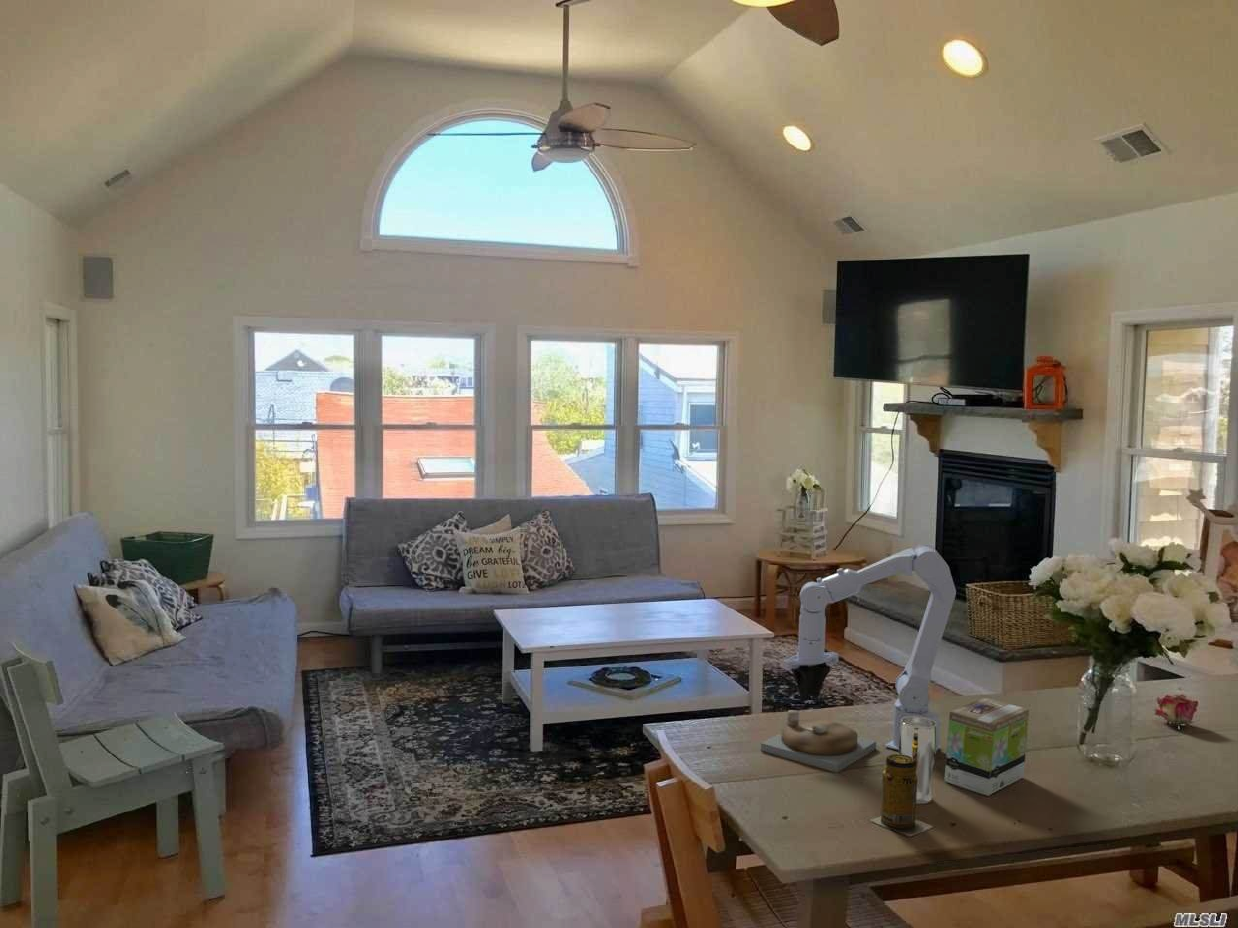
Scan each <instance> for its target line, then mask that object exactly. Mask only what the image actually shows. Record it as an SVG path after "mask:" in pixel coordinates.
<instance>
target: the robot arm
mask: <svg viewBox="0 0 1238 928" xmlns="http://www.w3.org/2000/svg"><path fill="white" fill-rule="evenodd" d="M913 572H915V575H916V576H917V577H918V578H919V579H921V580H922V581H923V582H924V583H925V584H926V586H927V588H928V589H929V591H930V596H929V600H927V601H928V602H927V605H926V608H925V610H924V614H923V618H922V620H921V623H920V627H919V630H918V633H917V636H916V639H915V642H914V645H913V647H912V652H911V654H910V657H909V660H908V661H907V663H906V664H905V666H904V668H903V669H904V670H903V671H902V673H901V674H899V675H898V676H897V678H896V679H895V682H894V683H895V684H894V686H895V691H896V693H897V694H898V698H897V700H895V702H894V705H893V723H892V724H893V725H892V739H891V741H889V742H887V743H885V744H884V747H885V748H889V749H892V750H896V751H899V734H900V726H901V719H902V718H904V717H907V716H919V717H925V718H929V719H932V720H934V721H935V722H936V723H937V749H936V752H938V750H939V749H941V745H940V740H941V739H940V736H941V717H940V714H939V713H937V712H934V711H932V710H930V709H929V707H930V706H929V703H930V700H931V699H930V693H929V692H930V690H929V689H930V685H931V679H932V670H933V666H934V663H935V661H936V656H937V654H938V652H939V647H940V645H941V642H942V639H943V636H944V632H945V629H946V626H947V624H948V623H947V622H948V620H949V617H950V614H951V611H952V608H953V604H954V601H955V599H956V595H957V589H956V587H955V583H954V580H953V576H952V573H951V569H950V566H949V565H948V564H947V562H946V560H944V558H943V556H941V554H940V553H939V552H938V550H937V549H936V548H935V547H934V546H931V545H929V544H920V545H917V546H916V547H914V548H912V547H911V548H906V549H904V550H901V551H899V552H896V553H894V554H892V555H890V556H888V557H885V558H884V559H881V560H878V561H877V562H874V563H871V564H870V565H867V566H865V567H863V568H861V569H858V570H854V569H851V568H845V569H843V568H842V567H841V568H838V569H837V570H836V573H833V574H831V575H829V576H826V577H823V578H822V577H818V578H816V581H809V582H808V581H807V582H806V583H805V584H803V586H802V587H801V589H800V592H799V601H800V608H799V613H800V614H799V617H798V642H797V644H798V645H797V646H798V647H797V652H796V654H795V655H793V656H792V657H789V658H786V659H782V666H781V667H782V670H785V671H791V672H792V673H793V676H794V679H795V681H796V684H797V687H798V693H799V697H800V698H801V699H803V700H805V701H808V700H809V699H810V697H812V698H815V699H818V698H819V697H820V694H821V690H822V687H823V685H824V681H825V680H826V678H827V676H828V675H829V673H830V672H831V667H830V666H829V665H827V664H830V663H833V664H834V663H837V664H838V663H839V655H840V654H839V653H836V652H834V651H829V652H825V647H826V646H825V645H826V626H827V625H826V624H827V623H826V622H827V621H826V619H827V618H826V615H825V614H826V613H825V612H826V608H827V606H828V604H834V603H836V602H840V601H842V600H844V599H848V598H850V597H852V596H854V595H857V594H859V593H860V591H861V589H862V586H864V585H867V584H870V583H872V582H875V581H878V580H881V579H884V578H887V577H890V576H893V575H895V574H900V575H905V576H909V577H913Z"/></svg>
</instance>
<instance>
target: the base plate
mask: <svg viewBox="0 0 1238 928" xmlns="http://www.w3.org/2000/svg"><path fill="white" fill-rule="evenodd" d="M760 743H761V744H760V751H761V752H764V751H765V752H764V753H767V754H772V755H774V756H777V755H778V757H781V758H785V759H788V760H791V761H795V762H798V763H802V764H806V765H809V766H813V767H816V768H819V769H822V768H823V770H827V771H830V772H833V773H837V774H838V773H839V772H841V771H842V770H844V769H845V768H846V769H847V767H849V766H850V765H852V764H854V763H855V762H857V761H859V760H861V759H862V758H863V757H865V756H867V755H868V754H870V753H872V752H874V751H876V749H877V741H876V740H873V739H869V738H865V737H862V736H858V737H857V747H856V749H855V750H853V751H851V752H849V753H845V754H839V755H818V754H811V753H805V752H801V751H798V750H795V749H793V748H791V747H789V746H787V745H786V744H784V743H783V741H782V732H780V733H778V734H777V735H775V736H772V737H770V738H768V739H766V740H763V741H762V742H760Z"/></svg>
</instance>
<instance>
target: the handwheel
mask: <svg viewBox="0 0 1238 928" xmlns="http://www.w3.org/2000/svg"><path fill="white" fill-rule="evenodd" d="M799 717H800V712H799V711H798V710H796V709H789V710H787V723H786V724H784V725H783V726H782V728H781V733H782V741H783V743H784V744H786V745H787V746H789V747H791V748H793V749H795V750H798V751H801V752H805V753H811V754H818V755H839V754H845V753H849V752H851V751H853V750H855V749H856V747H857V737H859V736H858V732H857V731H855V730H854V729H853V728H851V727H850V726H847V725H844V724H842V723H837V722H835V721H829V720H824V719H800V718H799Z"/></svg>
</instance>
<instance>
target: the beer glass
mask: <svg viewBox="0 0 1238 928" xmlns="http://www.w3.org/2000/svg"><path fill="white" fill-rule="evenodd" d="M936 749H937V723H936V722H935V721H934V720H932V719H929V718H925V717H919V716H907V717H904V718H902V719H901V726H900V734H899V750H898V754H903V755H907V756H910V757H912V758H913V759H914V760H915V761H916V766H915V767H916V775H917V795H916V805H924V804H928V803H930V802H931V801H932V792H931V791H932V790H931V777H932V772H933V769H934V764H935V760H936V755H937V751H936Z"/></svg>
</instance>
